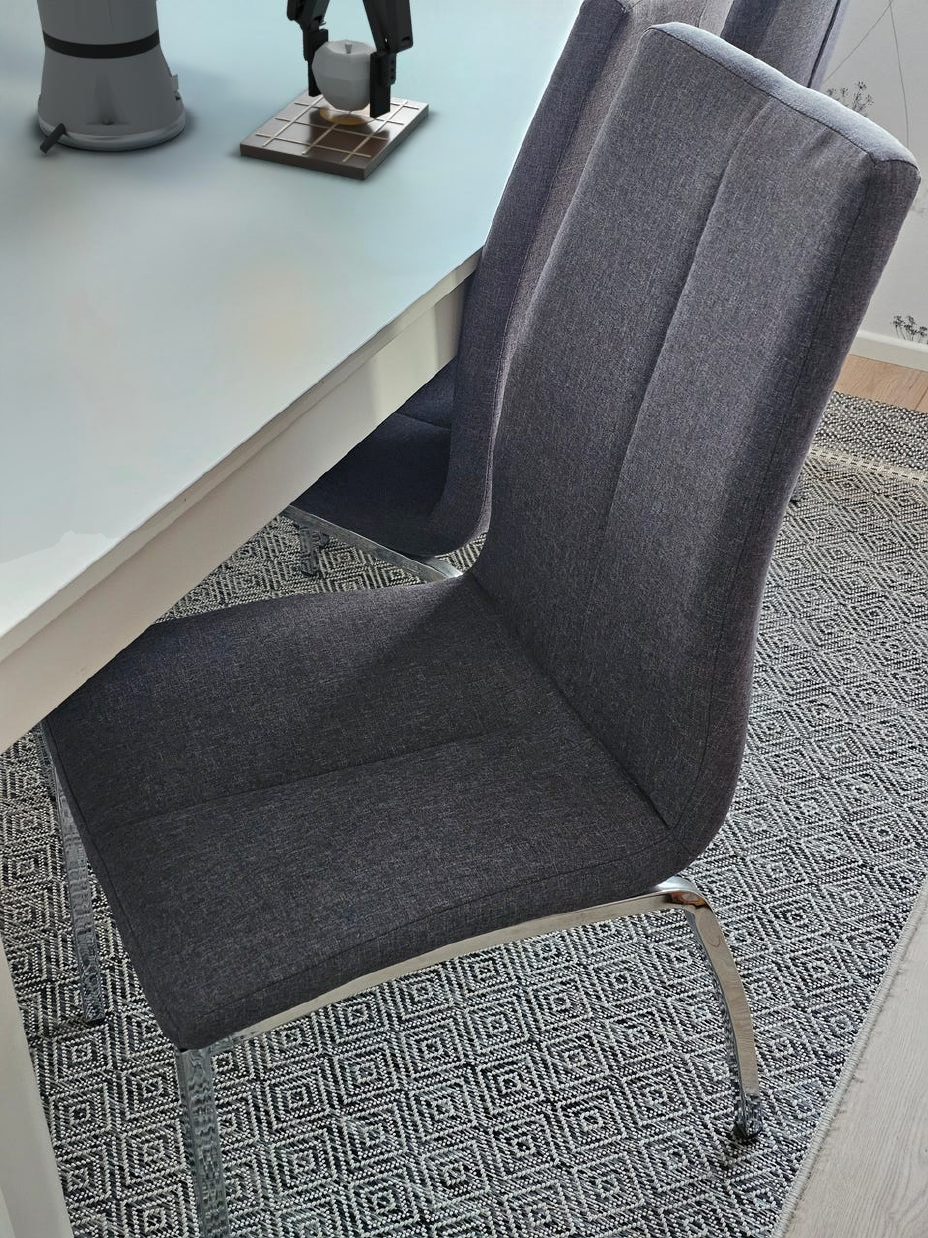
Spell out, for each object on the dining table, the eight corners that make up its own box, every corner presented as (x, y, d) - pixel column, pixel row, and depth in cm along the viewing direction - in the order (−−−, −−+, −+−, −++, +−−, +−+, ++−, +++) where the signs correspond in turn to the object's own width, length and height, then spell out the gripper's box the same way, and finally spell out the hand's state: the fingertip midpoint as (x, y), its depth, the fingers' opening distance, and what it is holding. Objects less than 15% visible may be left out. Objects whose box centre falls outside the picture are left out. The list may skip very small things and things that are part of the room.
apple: (399, 106, 133) (400, 44, 129) (352, 125, 128) (352, 61, 124) (344, 87, 136) (344, 25, 132) (297, 105, 132) (295, 41, 127)
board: (364, 180, 123) (364, 167, 122) (240, 154, 126) (239, 142, 125) (428, 114, 137) (429, 102, 137) (315, 92, 140) (315, 80, 139)
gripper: (457, -121, 115) (445, 119, 131) (292, -160, 123) (299, 70, 139) (410, -108, 110) (403, 139, 126) (242, -150, 118) (255, 87, 134)
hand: (349, 103), depth 132 cm, fingers closed on apple, 8 cm apart
